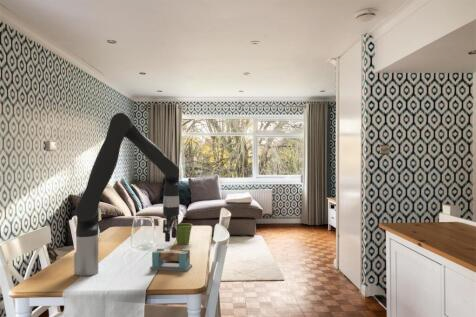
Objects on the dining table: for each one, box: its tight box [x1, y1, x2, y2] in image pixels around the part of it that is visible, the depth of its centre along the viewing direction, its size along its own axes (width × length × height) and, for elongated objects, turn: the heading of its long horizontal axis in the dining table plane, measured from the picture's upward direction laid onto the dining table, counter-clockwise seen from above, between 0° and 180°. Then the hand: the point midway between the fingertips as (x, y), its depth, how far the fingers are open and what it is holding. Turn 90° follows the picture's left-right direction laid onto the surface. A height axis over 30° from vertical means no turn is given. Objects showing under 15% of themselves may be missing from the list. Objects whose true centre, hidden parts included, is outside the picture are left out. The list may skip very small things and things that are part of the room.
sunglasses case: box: [164, 248, 184, 264], centre depth 186 cm, size 18×7×7 cm, turn 3°
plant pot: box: [175, 222, 193, 246], centre depth 220 cm, size 12×12×11 cm
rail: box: [154, 249, 189, 261], centre depth 171 cm, size 16×4×4 cm, turn 82°
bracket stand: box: [149, 248, 193, 272], centre depth 171 cm, size 18×8×8 cm, turn 81°
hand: (170, 239), depth 171 cm, fingers open, 8 cm apart
